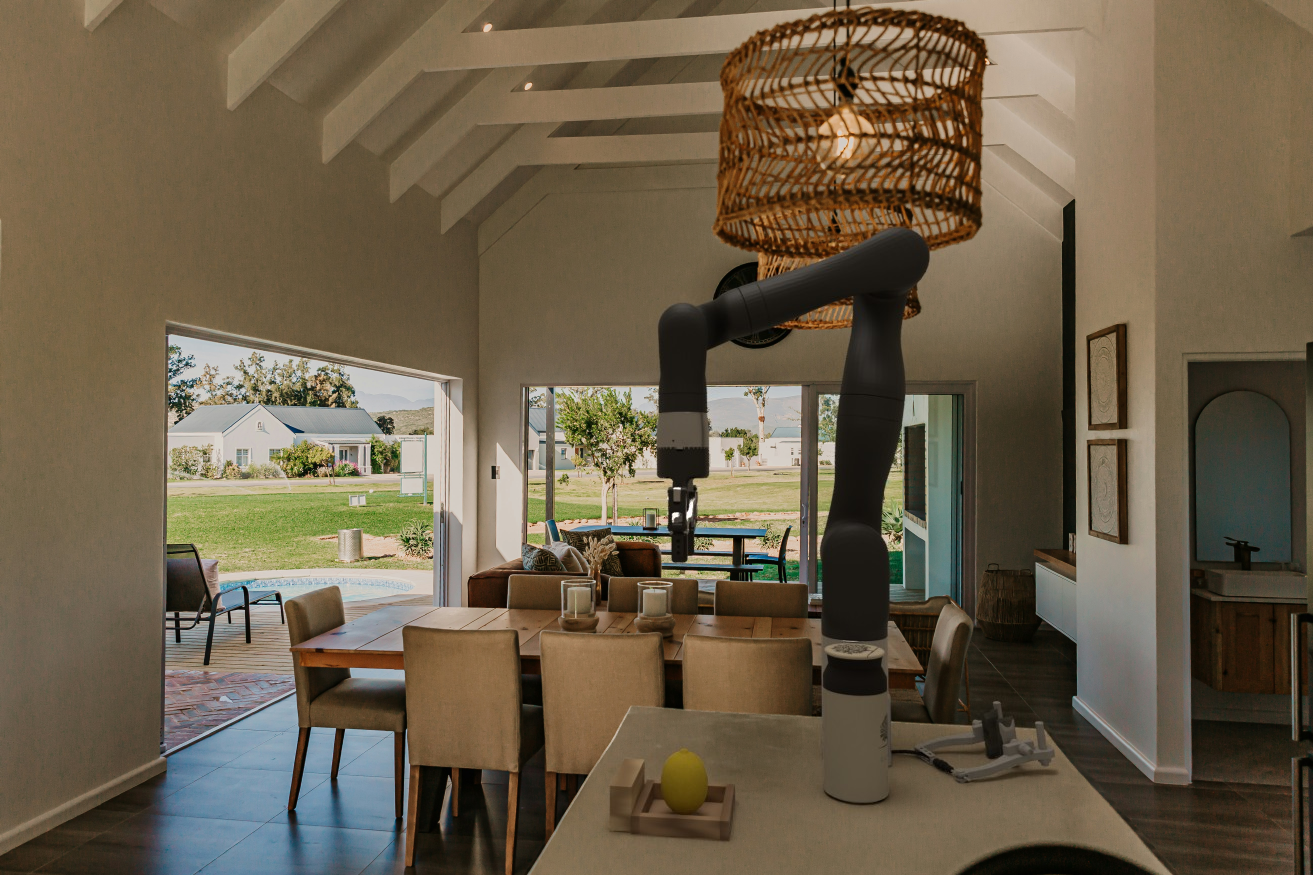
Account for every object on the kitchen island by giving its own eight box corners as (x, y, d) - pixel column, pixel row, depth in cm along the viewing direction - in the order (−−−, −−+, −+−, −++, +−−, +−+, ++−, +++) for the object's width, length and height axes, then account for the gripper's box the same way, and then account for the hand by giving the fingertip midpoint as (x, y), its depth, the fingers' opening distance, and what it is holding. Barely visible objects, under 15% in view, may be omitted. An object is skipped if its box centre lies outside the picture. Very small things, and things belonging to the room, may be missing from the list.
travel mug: (812, 794, 105) (811, 650, 106) (840, 776, 112) (838, 640, 112) (873, 810, 100) (871, 659, 101) (898, 790, 107) (896, 647, 107)
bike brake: (1002, 738, 124) (880, 769, 120) (995, 693, 124) (873, 723, 120) (1065, 772, 111) (931, 809, 107) (1058, 722, 111) (923, 757, 107)
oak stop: (644, 800, 103) (644, 759, 104) (631, 831, 95) (631, 786, 95) (624, 799, 104) (624, 758, 104) (609, 830, 95) (609, 785, 95)
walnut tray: (735, 808, 103) (734, 783, 103) (728, 848, 92) (728, 821, 92) (647, 803, 105) (647, 779, 105) (630, 842, 94) (630, 815, 94)
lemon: (711, 809, 100) (710, 742, 101) (703, 829, 95) (703, 758, 95) (666, 805, 102) (665, 739, 102) (656, 825, 96) (656, 755, 96)
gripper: (664, 446, 127) (664, 553, 127) (649, 444, 113) (649, 564, 113) (713, 446, 126) (713, 554, 126) (704, 443, 112) (704, 565, 112)
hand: (683, 558), depth 119 cm, fingers open, 8 cm apart
